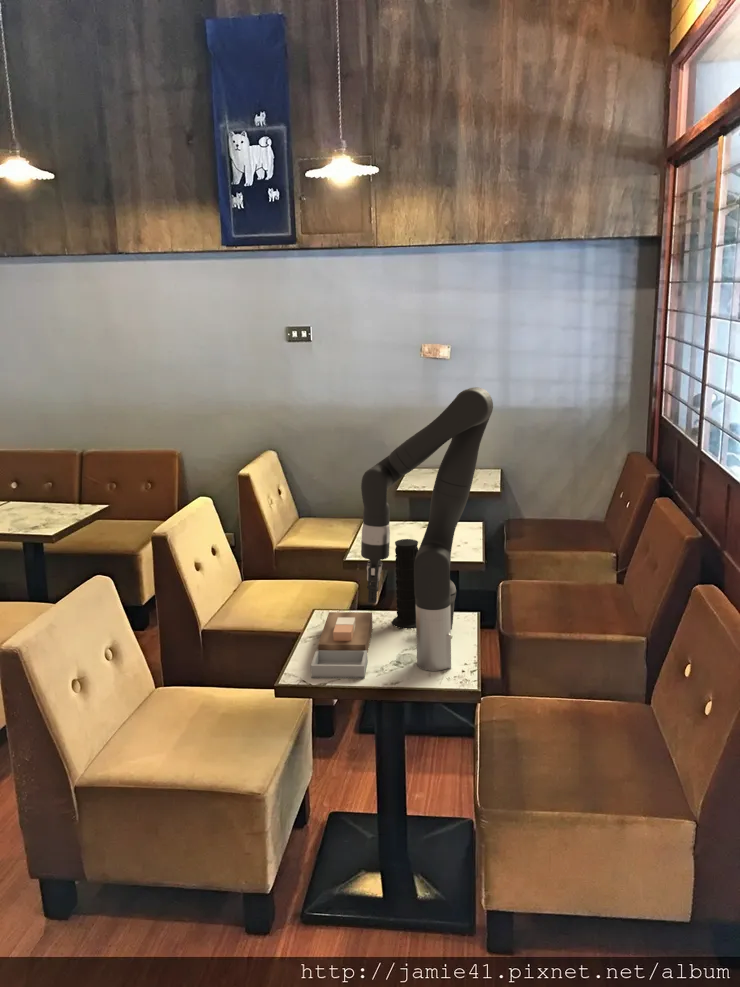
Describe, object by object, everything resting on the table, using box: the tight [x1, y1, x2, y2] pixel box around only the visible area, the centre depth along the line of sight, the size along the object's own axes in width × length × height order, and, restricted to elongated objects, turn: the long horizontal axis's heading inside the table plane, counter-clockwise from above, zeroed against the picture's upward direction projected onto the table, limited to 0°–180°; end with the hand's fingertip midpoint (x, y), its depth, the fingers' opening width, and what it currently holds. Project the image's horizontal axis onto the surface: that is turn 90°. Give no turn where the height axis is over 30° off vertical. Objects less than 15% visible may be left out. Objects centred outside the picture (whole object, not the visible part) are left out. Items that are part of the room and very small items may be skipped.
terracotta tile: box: [333, 625, 354, 641], centre depth 227 cm, size 5×5×2 cm
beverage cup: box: [450, 579, 457, 631], centre depth 241 cm, size 7×7×20 cm
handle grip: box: [391, 538, 419, 630], centre depth 246 cm, size 10×26×10 cm
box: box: [310, 649, 368, 679], centre depth 218 cm, size 14×10×4 cm
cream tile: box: [336, 617, 355, 633], centre depth 232 cm, size 5×5×2 cm
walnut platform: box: [317, 611, 374, 653], centre depth 234 cm, size 13×23×5 cm, turn 175°
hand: (373, 596), depth 222 cm, fingers open, 8 cm apart
